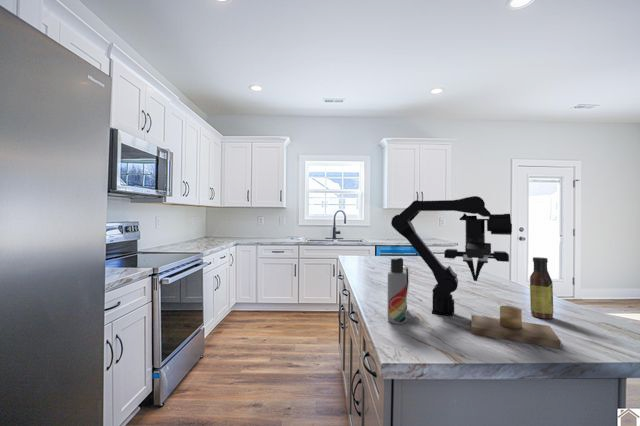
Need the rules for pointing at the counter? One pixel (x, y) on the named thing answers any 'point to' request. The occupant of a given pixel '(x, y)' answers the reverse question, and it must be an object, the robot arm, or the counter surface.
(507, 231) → the robot arm
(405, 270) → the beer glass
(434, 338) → the counter surface
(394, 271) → the lotion bottle
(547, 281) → the sauce bottle
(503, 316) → the oak peg
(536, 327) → the walnut board
